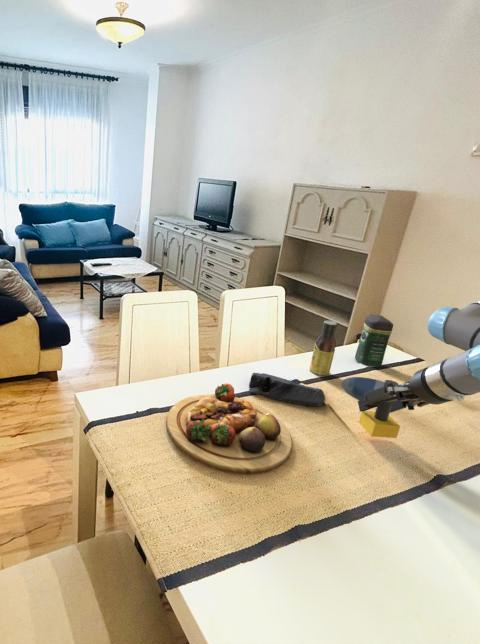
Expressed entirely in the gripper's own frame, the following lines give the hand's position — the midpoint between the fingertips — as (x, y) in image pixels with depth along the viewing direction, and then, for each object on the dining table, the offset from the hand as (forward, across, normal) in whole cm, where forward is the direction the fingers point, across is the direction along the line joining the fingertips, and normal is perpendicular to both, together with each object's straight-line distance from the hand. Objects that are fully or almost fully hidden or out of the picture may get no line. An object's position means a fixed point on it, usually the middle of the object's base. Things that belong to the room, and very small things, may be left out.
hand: (373, 406), depth 99 cm
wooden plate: (+6, -37, -8) cm, 38 cm away
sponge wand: (+1, 0, -6) cm, 6 cm away
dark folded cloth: (+21, -13, +8) cm, 26 cm away
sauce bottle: (+31, +3, +18) cm, 36 cm away
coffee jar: (+39, +27, +26) cm, 54 cm away
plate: (+22, +16, +9) cm, 29 cm away
